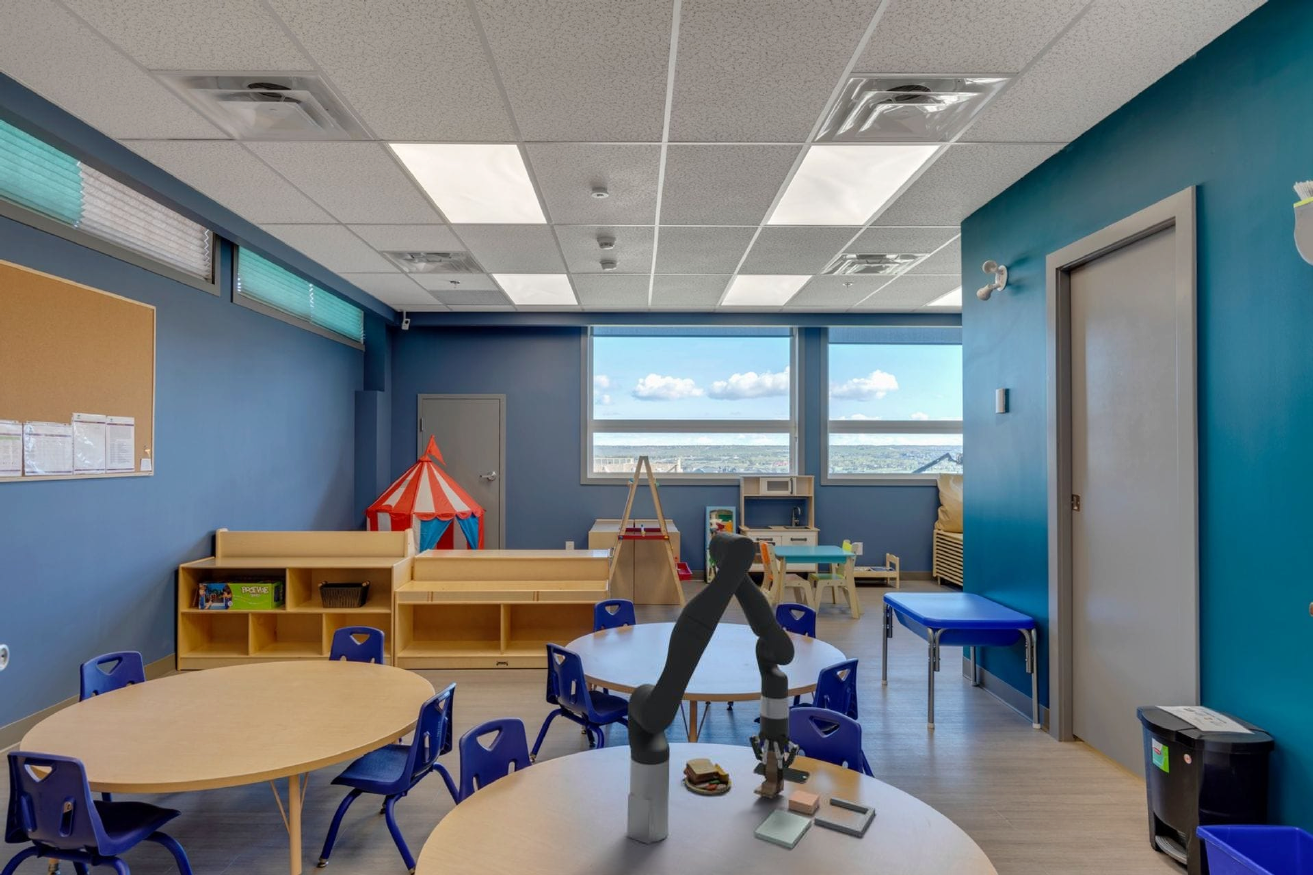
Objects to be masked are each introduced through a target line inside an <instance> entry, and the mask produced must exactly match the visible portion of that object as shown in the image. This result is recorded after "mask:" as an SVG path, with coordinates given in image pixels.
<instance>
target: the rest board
mask: <svg viewBox="0 0 1313 875" xmlns="http://www.w3.org/2000/svg"><path fill="white" fill-rule="evenodd" d="M811 824H812V819H811V818H808V817H803V816H800V815H797V814H794V813H790V812H788V811H787V812H786V811H783V810H781V809H778V808H775V810H774V811H773V812H772V813H771V814H770V815H769V816H768V817H767V819H765V820H764V821H763V823H761V825H760V826H759V827H758V828H757V829H756V830H755V831H754V837H756V838H759V839H762V840H765V841H768V842H772V843H774V844H777V845H780V846H783V847H785V848H786V847H787V848H789V849H793V847H794V846H795V845H796V844H797V842H798V841H799V840H800V838H801V837H802V836H803V835H804V834H805V832H806V831H807V830H808V829H809V827H810V826H811ZM806 829H807V830H806Z"/></svg>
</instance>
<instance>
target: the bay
mask: <svg viewBox="0 0 1313 875" xmlns="http://www.w3.org/2000/svg"><path fill="white" fill-rule="evenodd" d="M832 803H833V805H836V806H839V807H844V808H847V809H850V810H854V811H857V812H861V813H864V814H865V815H864V816H863V818H862V819H861V821H860V822H859V824H858V825H857V827H855V826H852V825H847V824H845V823H842V822H837V821H834V820H831V819H828V818H824V817H821V816H818V815H815V817H813V819H814V820H813V822H815V823H814V824H816V823H817V824H816V825H819V826H822V825H824V826H823V827H826V828H829V827H830V829H834V830H836V831H840V832H843V833H846V834H849V835H853V836H856V837H859V838H861V837H862V835H863V834H864V832H865V831H866V829H867V827H868V826H869V824H870V822H872V821H871V820H872V819H873V817H874V816H875V815H876V807H873V806H867V805H864V804H860V803H856V802H853V801H850V800H847V799H842V798H839V797H836V796H832V795H831V796H830V798H829V804H832Z"/></svg>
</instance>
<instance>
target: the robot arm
mask: <svg viewBox="0 0 1313 875" xmlns="http://www.w3.org/2000/svg"><path fill="white" fill-rule="evenodd" d="M708 553H709V554H708V555H709V556H710V559H711V561H712V562H713V563H714V565H715V567H716V568H717V571H716V573H715V575H714V576H713V578H712V579H711V581H710V582H709V584H707V586H705V588H703V589H702V590H700V592H699V593H698V594H696V595H695V596H694V597H693V598H692V599H690V600H689V601H688V602H687V603H686V605H685V606H684V607H683V609H682V610H681V612H680V614H679V616H678V618H677V620H676V622H675V624H674V626H673V628H672V630H671V634H670V637H669V642H668V643H669V644H668V648H667V654H666V660H665V664H664V667H663V669H662V670H663V671H662V673H661V674H660V676H659V678H658V680H657V681H656V683H655V684H651V683H643V684H641V685H639V686H637V687H636V688H635V689H634V690H633V691H632V692H631V695H630V697H629V700H628V705H627V739H628V745H629V748H630V770H629V771H630V772H629V774H630V776H629V778H630V779H629V793H628V796H627V830H626V832H627V834H626V835H627V837H629V838H631V839H634V840H637V841H639V842H641V843H645V844H648V845H650V844H652V843H654V842H659V841H661V840H663V839H665V838H667V836H668V834H669V809H670V808H669V806H670V805H669V804H670V803H669V801H670V798H669V797H670V795H669V794H670V749H671V748H670V744H669V742H668V739H667V737H666V734H665V731H667V729H668V728H669V727H671V725H672V724H673V722H674V720H675V717H676V716H677V713H678V711H679V708H680V706H681V703H682V700H683V698H684V695H685V692H686V689H687V687H688V685H689V683H690V680H691V678H692V677H693V675H694V672H695V670H696V669H697V666H698V665H699V662H700V661H701V659H702V655H703V654H704V652H705V651H706V649H707V647H708V645H709V643H710V641H711V639H712V637H713V635H714V634H715V632H716V629H717V627H718V625H719V622H720V620H722V616H723V615H724V613H725V611H726V609H727V607H728V606H729V603H730V602H731V600H732V598H733V597H734V596H735V597H736V598H735V599H736V600H737V602H738V604H739V605H740V607H741V610H742V612H743V614H744V616H745V618H746V620H747V623H748V624H749V627H750V629H751V631H752V633H753V634H754V635H755V636H756V637H758V638H757V641H756V643H755V649H754V650H755V657H756V663H757V666H758V670H759V671H758V672H759V674H760V678H761V680H760V681H761V684H760V685H761V686H760V687H761V688H760V690H761V691H760V692H761V693H760V694H761V695H760V701H759V729H760V730H759V732H758V734H755V733H753V734H752V735H751V736H750V737H749V742H750V745H751V748H752V750H753V754H754V756H755V759H756V760H757V761H760V762H762V763H763V775H762V776H763V777H764V779H765V780H766V761H767V756H768V750H769V751H774V752H775V753H776V759H777V760H778V782H780V783H781V782H782V780H783V779H784V778H785V767H786V768H790V766H791V765H792V764H793V762H794V761H795V759H796V756H797V755H798V752H799V750H800V748H801V747H800V744H798V743H797V744H795V743H793V741H791V738H790V735H789V733H790V730H789V728H790V727H789V726H790V724H789V720H790V706H789V705H790V703H789V679H788V676H787V674H786V673H785V672H784V671H782V670H781V669H780V668H779V666H789V664H791V663H792V662H793V660H794V657H795V653H796V652H795V645H794V643H793V640H792V639H791V637H790V635H788V633H787V631H786V630H785V629H784V628H783V626H782V625H781V624H780V623H779V621H778V620H777V619H776V616H775V614H774V612H773V609H772V607H771V604H770V603H769V601H768V599H767V598H766V596H765V594H764V593H763V592H762V591H761V590H760V588H759V587H758V586H757V584H756V583H755V582H754V581H753V580H752V578H751V577H750V575H749V574H748V573H749V571H750V570H751V568H752V566H753V563H754V561H755V560H756V556H757V555H756V553H757V547H756V544H755V542H754V541H753V539H752V538H751V537H748V536H746V535H743V534H739V533H734V532H730V531H719V532H717V533H715V534H714V535H713V536H712V537H711V539H710V540H709V544H708ZM778 665H779V666H778ZM760 743H761V744H762V746H763V748H762V746H761V744H760ZM787 747H788V752H789V754H788V756H787V758H786V748H787Z"/></svg>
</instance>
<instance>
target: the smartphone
mask: <svg viewBox="0 0 1313 875" xmlns="http://www.w3.org/2000/svg"><path fill="white" fill-rule="evenodd" d="M756 773H757V775H761V776H763V763H762V762H761V761H760V762H759V763H758V764H757V765H756V766H755V768H754V769H753V774H756ZM810 776H811V773H810V772H808V771H806V770H805V771H804V770H801V769H795V768H791V767H788V768H786V767H785V778H784V781H787V782H788V781H789V782H793V783H796V784H806V783H807V781H808V779H809V778H810Z"/></svg>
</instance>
